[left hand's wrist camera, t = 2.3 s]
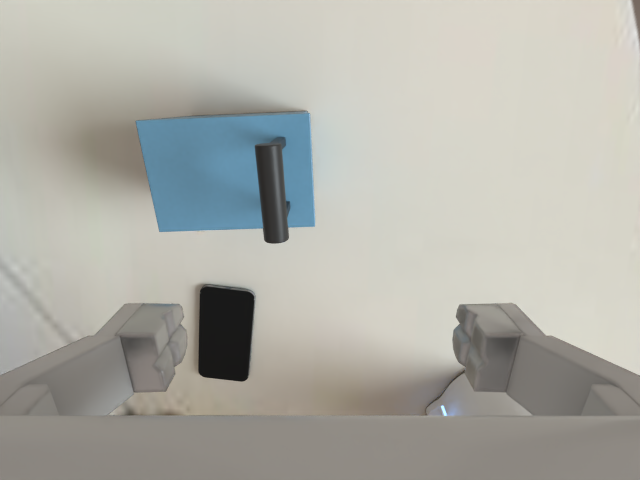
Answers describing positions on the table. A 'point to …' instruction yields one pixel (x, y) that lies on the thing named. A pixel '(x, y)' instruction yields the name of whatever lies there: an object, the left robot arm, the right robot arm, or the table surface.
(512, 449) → the left robot arm
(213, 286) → the smartphone
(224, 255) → the table surface
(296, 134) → the lid
